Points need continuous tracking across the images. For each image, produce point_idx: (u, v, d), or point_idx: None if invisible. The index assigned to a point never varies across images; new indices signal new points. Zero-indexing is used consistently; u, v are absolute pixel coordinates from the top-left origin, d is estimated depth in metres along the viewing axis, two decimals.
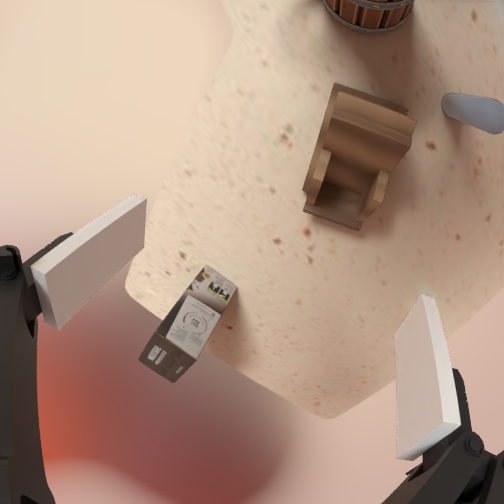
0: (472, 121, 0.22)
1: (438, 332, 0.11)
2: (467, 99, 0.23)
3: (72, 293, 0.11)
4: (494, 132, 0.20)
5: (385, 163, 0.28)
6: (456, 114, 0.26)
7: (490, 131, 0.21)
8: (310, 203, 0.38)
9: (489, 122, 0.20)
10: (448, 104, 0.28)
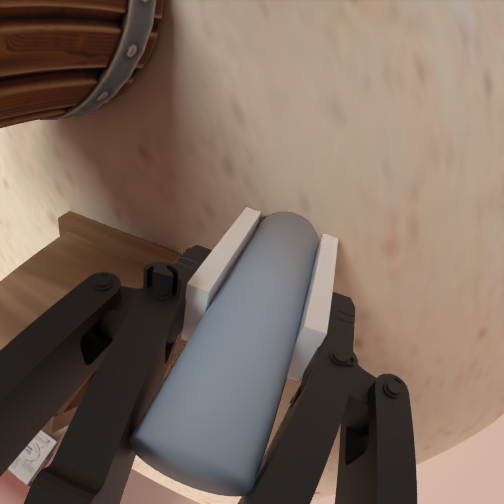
0: None
1: (328, 261, 0.13)
2: (195, 330, 0.09)
3: None
4: (207, 491, 0.07)
5: None
6: None
7: (192, 486, 0.07)
8: None
9: (180, 475, 0.07)
10: None
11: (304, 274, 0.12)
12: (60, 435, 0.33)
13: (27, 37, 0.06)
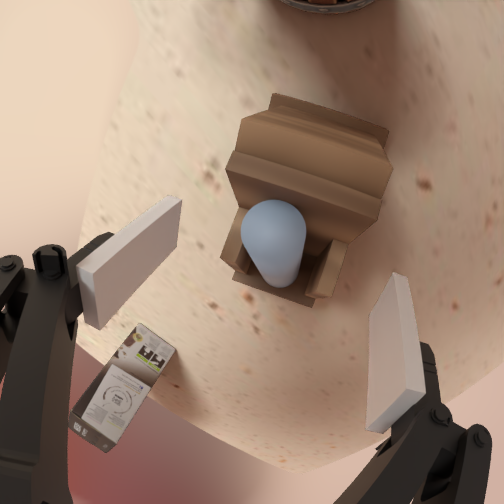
0: None
1: (407, 307, 0.12)
2: None
3: (115, 292, 0.11)
4: (278, 259, 0.16)
5: (338, 233, 0.18)
6: None
7: (269, 259, 0.16)
8: (241, 272, 0.27)
9: (265, 242, 0.16)
10: None
11: None
12: (154, 380, 0.36)
13: None
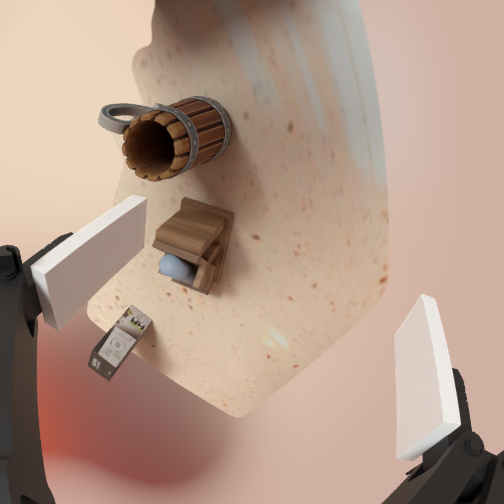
0: None
1: (438, 332, 0.11)
2: None
3: (72, 293, 0.11)
4: (170, 274, 0.47)
5: (197, 264, 0.49)
6: None
7: (167, 274, 0.47)
8: None
9: (166, 269, 0.47)
10: None
11: (193, 269, 0.55)
12: (138, 336, 0.67)
13: (207, 150, 0.41)
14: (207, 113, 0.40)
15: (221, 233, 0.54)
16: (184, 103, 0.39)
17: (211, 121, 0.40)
